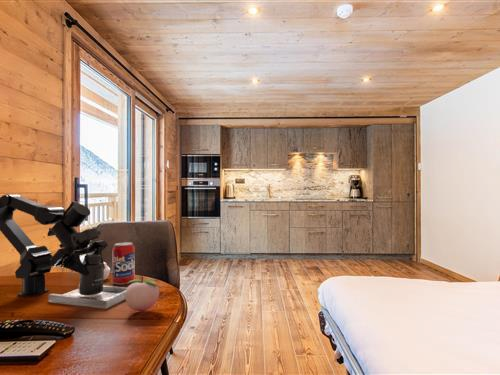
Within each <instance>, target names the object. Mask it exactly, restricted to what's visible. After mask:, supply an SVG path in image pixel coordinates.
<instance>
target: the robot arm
mask: <svg viewBox="0 0 500 375" xmlns="http://www.w3.org/2000/svg"><path fill="white" fill-rule="evenodd" d="M15 211H19V212H22V213H25V214H28V215H30V216H32V217H33V218H34V220H35V221H36V222H37V223H39V224H41V225H43V226H48V225H49V226H50V225H53V226H52V227H49V228H48V231H47V234H46V235H47V237H52V236H54V237H56V239H57V240H58V241H59V242H60V244H59V245H58V247H60V248H58V249H57V251H56V252H55V253H53V252H51V251H50V250H49V249H48V247H47V246H46V245H39V246H37V245H36V244H35V243H34V242H33V241H32V240H31V239H30V237H29V236H28V235H27V234H26V233H25V231H24V230H23V229H22V228H21V226H20V225H19V224H18V223H17V222H16V221H15V219H14V212H15ZM90 215H91V210H90V209H89V207H87V206H85V205H84V204H81V203H79V202H78V201H71V203H70V204H69V206H68V207H67V208H66V209H65V208H64V207H61V206H57V205H56V206H55V205H44V204H42V203H39V202H37V201H34V200H31V199H29V198H26V197H23V196H22V195H20V194H18V193H17V194H13V193H12V194H10V193H9V194H8V193H7V194H4V195H2V196H0V233H2V235H3V236H4V237H5V238H6V239H7V241H8V242H9V244H10V245H12V247H13V248H14V249H15V250H16V251H17V253H18V254H19V255H20V256H19V264H20V265H19V267H18V268H17V269H16V270H15V272H14V274H15V278H16V279H21V282H22V284H21V285H22V286H21V287H22V288H21V292H19V293H17V296H21V297H30V298H32V297H35V296H38V295H41V294H43V293H46V292H49V291H50V289H47V288H46V274H47V273H50V272H51V270H52V268H53V269H54V268H58V267H60V268H62V269H63V268H65V269H67V270H71V271H73V272H76V273H78V274H79V275H80V274H83V275H85V276H87V275H88V274H89V273H88V271H87V269H86V268H85V266H84V265H83V264H84V263H83V262H82V260H81V257H80V256H83V255H84V256H85V255H92V254H99V255H101V261H100V262H101V263H102V264H103V265H104V262H105V261H104V260H103V255H102V254H103V251H104V250H106V249H107V247H108V243H107V242H106V241H105V240H97V241H94V242H93V243H92V241H93V240H95V239H98V238H99V237H100V235H101V233H102V232H101V230H100V229H99V228H98V226H92V227H91V228H88V229H85V230H82V231H80V232H79V231H77V230H76V228H79V227H80V226H81V225H82V224H83V222H85V220H86V219H87V218H88V217H89V216H90ZM52 253H53V255H52ZM104 269H105V266H104Z"/></svg>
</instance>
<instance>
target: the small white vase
mask: <svg viewBox="0 0 500 375" xmlns="http://www.w3.org/2000/svg"><path fill="white" fill-rule="evenodd" d="M103 262H104V266H105V269H104V279H103V281H105V280H107V278H108V277H109V275H110V273H111V272H110V271H111V268H110V267H109V265H107V262H105V261H103Z"/></svg>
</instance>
